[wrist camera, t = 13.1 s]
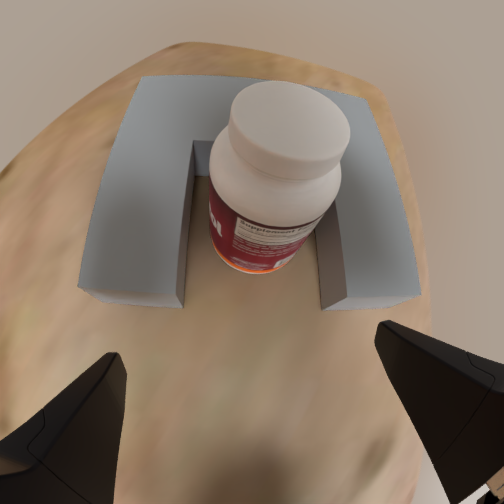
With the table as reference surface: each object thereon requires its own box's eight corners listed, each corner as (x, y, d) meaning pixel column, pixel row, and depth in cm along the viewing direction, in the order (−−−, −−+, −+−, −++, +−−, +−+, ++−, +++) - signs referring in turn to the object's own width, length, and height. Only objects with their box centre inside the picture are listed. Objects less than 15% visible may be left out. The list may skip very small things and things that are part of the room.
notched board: (388, 307, 19) (421, 294, 16) (102, 302, 17) (77, 286, 13) (350, 127, 26) (366, 99, 22) (147, 109, 23) (142, 76, 20)
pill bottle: (217, 190, 21) (226, 61, 11) (298, 203, 21) (357, 89, 11) (202, 270, 18) (192, 158, 8) (294, 283, 19) (379, 194, 9)
